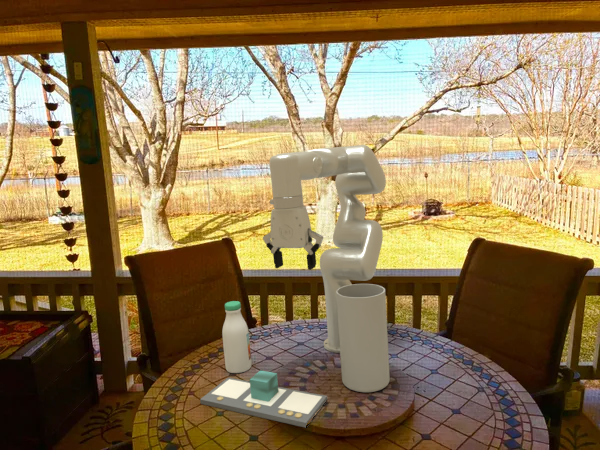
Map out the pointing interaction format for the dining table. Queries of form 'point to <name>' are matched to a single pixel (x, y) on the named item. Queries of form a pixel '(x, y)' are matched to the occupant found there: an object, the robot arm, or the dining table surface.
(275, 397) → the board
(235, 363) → the milk bottle
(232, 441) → the dining table surface
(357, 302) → the cylinder vase
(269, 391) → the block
